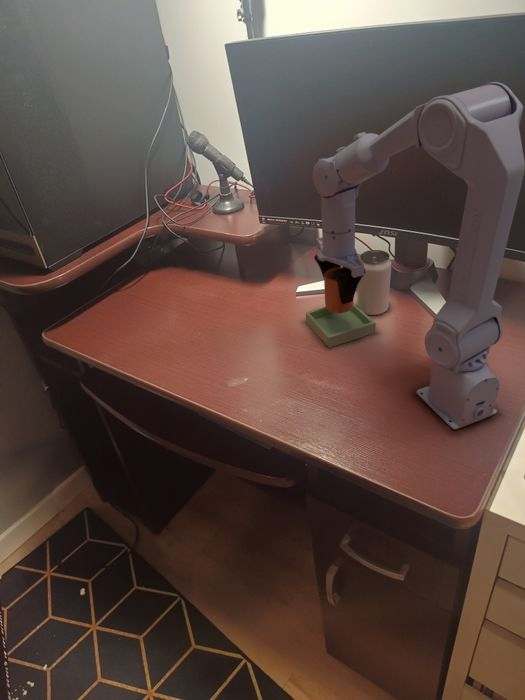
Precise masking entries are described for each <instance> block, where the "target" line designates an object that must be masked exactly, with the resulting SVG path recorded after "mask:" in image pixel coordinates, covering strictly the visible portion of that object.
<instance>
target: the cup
mask: <svg viewBox="0 0 525 700" xmlns="http://www.w3.org/2000/svg"><path fill="white" fill-rule="evenodd" d="M340 269H343V266H341V267H336V268H331V269H329V270H327V271H326V272H325V273H324V278H323V283H324V284H323V285H324V307H325V308H326V309H327V310H328V311H330V312H333V313H344V312H348V311H349V310H351V309H352V308H353V303H354V300H353V301H352V302H349V303H346V304H342V303H341V300H340V294H339V287H338V284H337V281H336V278H335V277H334V275H333V271H336V270H340Z"/></svg>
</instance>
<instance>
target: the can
mask: <svg viewBox="0 0 525 700" xmlns="http://www.w3.org/2000/svg"><path fill="white" fill-rule="evenodd" d="M390 257H391V256H390V253H388V252H387V251H384V250H380V249H371V250H370V249H369V250H366V251H364V252H362V253H360V256H359V259H360V261H361V262H362V264H364V268H365V274H364V275H363V277H362V278H361V280H360V282H359V284H358V286H357V290H356V291H357V296H356V298H357V299H356V300H357V301H356V304H357V305H356V306H357V307H358V308H359V309H361V310H362V311H363V312H364V313H365V314H366V315H367V316H379V315H382V314H384V313H386V311H388V309H389V308H390V307H389V306H390V293H391V292H390V291H391V278H392V277H391V276H392V261H391V258H390Z"/></svg>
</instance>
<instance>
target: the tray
mask: <svg viewBox="0 0 525 700" xmlns="http://www.w3.org/2000/svg"><path fill="white" fill-rule="evenodd" d="M305 321H306V322H305V323H306V324H307V325H308V326H309V327H310V329H311V330H312V331H313V332H314V333H315V334H316V335H317V337H319V339H320V340H321V341H322V342H323V343H324V344H325V346H326V347H327V348H333V347H336V346H339V345H342V344H345V343H349V342H351V341H354V340H357V339H360V338H364V337H367V336H370V335H373V334H376V325H377V323H376V321H374V320H373V319H372V318H371V317H370V316H369V315H366V314H365V313H364V312H363V311H362V310H361V309H359V308H358V307H357V305H356V304H355V303H354V302H353V308H352V309H351V310H349V311H348V312H344V313H333V312H330V311H328V310H327V309H326V308H325V306H323V307H321V308H317V309H313V310H310V311H308V312H305Z"/></svg>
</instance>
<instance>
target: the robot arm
mask: <svg viewBox="0 0 525 700" xmlns="http://www.w3.org/2000/svg"><path fill="white" fill-rule="evenodd" d="M523 111H524V105H523V104H522V102H521V101H520V100H519V98H518V97H517V96H516V95H515V94H514V92H513V91H512V90H511V89H510V87H508V86H507V85H506V84H505V83H502V82H498V81H491V82H487V83H485V84H482V85H480V86H478V87H473V88H471V89H466V90H463V91H460V92H455V93H452V94H448V95H447V94H446V95H438V96H435V97H433V98H432V99H430V100H429V101H428V102H425V103H423V104H420V105H417V106H416V107H415V108H414V109H413V110H411V111H410V112H408V113H407V114H406V115H404V116H403V117H402V118H400V120H398V121H396V122H395V123H394V124H392V125H391V126H390V127H388V128H387V129H385V130H384V131H382V133H380V134H377V133H372V132H368V133H366V131H364V132H360V133H357V134H355V135H354V136H353V137H352V140H353V142H351V143H350V144H348V145H347V146H342V147H339V148H337V149H336V150H335V154H334V156H331V157H328V158H319V159H318V161H317V162H316V163H315V165H314V166H313V169H312V181H313V185H314V187H315V189H316V191H317V193H319V195H320V206H321V208H320V209H321V235H322V236H321V237H317V238H316V239H315V242H316V249H317V250H319V251H320V253H317V254H315V255H314V261H315V262H316V263H317V265H318V267H319V269H320V272H321V275H322V278H323V279H324V273H325V272H326V271H327V270H329V269H331V268H336V267H343V269H340V270H336V271H333V275H334V277H335V278H336V281H337V284H338V287H339V294H340V300H341V303H342V304H346V303H349V302H352V301H353V302H354V298H355V295H356V294H355V293H356V291H357V289H358V284H359V282H360V280H361V278H362V277H363V275H364V274H365V268H364V264H362V262H361V261H360V256H359V254H358V251H357V249H356V199H358V197H359V191H360V190H359V189H360V187H361V185H362V184H363V182H365V181H367V180H369V179H370V178H373V177H374V176H376V175H378V174H380V173H382V172H383V171H384V170H386V168H387V167H388V165H389V162H390V157H393V156H394V155H397V154H399V153H401V152H403V151H405V150H407V149H409V148H411V147H413V146H415V148H418V149H420V148H423V149H424V151H425V152H427V154H429V156H431V158H433V159H435V160H436V161H437V162H438V163H440V164H441V165H442V166H444V167H445V168H446V169H448V171H450V172H451V173H452V174H453V175H455V176H456V177H458V178H460V179H462V180H463V181H464V182H465V183H466V185H467V191H466V193H467V194H466V197H465V203H464V208H463V214H462V220H461V225H460V230H459V231H460V232H459V236H458V243H457V248H456V253H455V258H454V259H455V260H454V263H453V264H454V265H453V270H452V275H451V281H450V287H449V292H448V297H447V300H446V302H444V304H443V305H442V306H441V308H439V310H438V312H437V313H436V314H435V316H434V317H433V321H432V325H431V327H430V329H429V330H428V331H427V332H426V334H425V336H424V347H425V350H426V354H427V355H428V356H429V358H430V359H431V361H432V365H431V371H430V378H429V385H428V386H425V387H421V388H419V389H417V390H416V391H415V392H416V393H415V394H416V395H417V396H418V397H419V398H420V399H421V400H422V401H423V402H424V403H425V404H426V405H427V406H428V407H429V408H430V409H431V410H432V411H433V412H435V414H436V415H437V416H439V417H440V418H441V420H443V422H444V423H446V424H447V425H448V427H450V428H451V429H452V430H459V429H461V428H464V427H467V426H469V425H471V424H474V423H476V422H479V421H482V420H484V419H486V418H489V417H492V416H494V415H496V414H497V412H498V411H497V409H496V408H495V405H496V401H497V397H498V394H499V391H500V381H499V379H498V378H497V377H496V376H495V375H494V374H493V372H492V371H491V369H490V367H489V365H488V362H487V359H488V354H490V350H491V347H493V346H494V345H497V343H499V342H500V341H501V339H502V336H503V324H502V319H501V318H502V316H501V315H502V312H503V307H502V306H501V305H500V304H499V303H498V302H497V301H496V300H494V296H495V292H496V288H497V284H498V280H499V276H500V274H501V273H500V272H501V268H502V264H503V261H504V255H505V253H506V248H507V245H508V241H509V236H510V233H511V232H510V231H511V228H512V224H513V221H514V216H515V212H516V208H517V204H518V200H519V197H520V192H521V189H522V184H523V180H524V176H525V157H524V150H523V144H522V138H521V132H520V125H521V121H522V116H523Z"/></svg>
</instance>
